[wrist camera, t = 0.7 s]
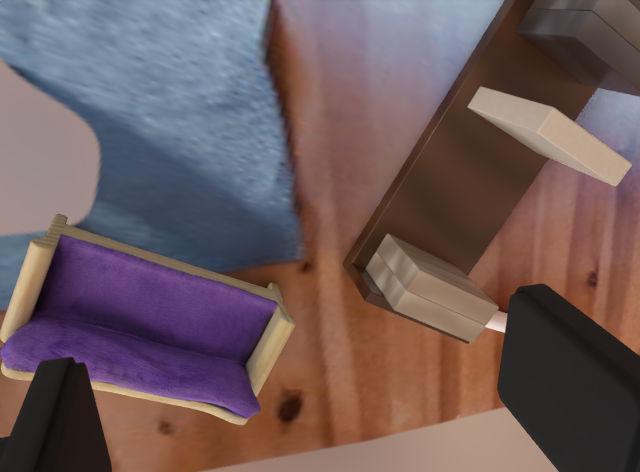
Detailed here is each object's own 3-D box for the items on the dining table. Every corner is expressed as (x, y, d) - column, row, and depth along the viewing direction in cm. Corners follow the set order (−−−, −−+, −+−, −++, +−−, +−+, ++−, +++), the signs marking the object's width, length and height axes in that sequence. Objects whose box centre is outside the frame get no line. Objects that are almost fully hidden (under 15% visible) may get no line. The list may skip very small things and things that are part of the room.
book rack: (541, -60, 43) (625, -74, 35) (630, 20, 47) (722, 24, 39) (342, 264, 50) (372, 314, 42) (435, 305, 55) (479, 357, 47)
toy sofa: (285, 284, 50) (309, 347, 41) (248, 356, 52) (262, 432, 43) (51, 205, 42) (15, 263, 33) (19, 295, 44) (-22, 373, 35)
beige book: (480, 85, 45) (554, 107, 36) (550, 134, 48) (633, 164, 39) (466, 106, 45) (536, 133, 36) (537, 153, 49) (616, 187, 40)
